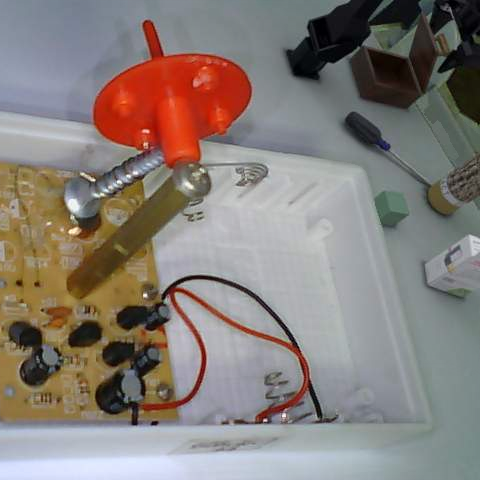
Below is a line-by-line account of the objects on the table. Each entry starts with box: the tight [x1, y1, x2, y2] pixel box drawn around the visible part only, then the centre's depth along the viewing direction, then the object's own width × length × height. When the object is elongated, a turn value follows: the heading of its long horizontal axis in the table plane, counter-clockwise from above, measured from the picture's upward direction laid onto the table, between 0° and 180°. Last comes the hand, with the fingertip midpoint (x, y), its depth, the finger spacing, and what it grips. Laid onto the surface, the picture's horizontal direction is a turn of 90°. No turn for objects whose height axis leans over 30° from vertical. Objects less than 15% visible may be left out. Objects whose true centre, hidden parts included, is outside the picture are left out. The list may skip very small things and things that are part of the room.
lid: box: [408, 11, 452, 95], centre depth 163 cm, size 13×11×5 cm
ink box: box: [424, 234, 480, 298], centre depth 142 cm, size 9×5×15 cm, turn 84°
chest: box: [349, 44, 423, 110], centre depth 168 cm, size 13×11×5 cm
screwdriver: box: [344, 110, 434, 188], centre depth 158 cm, size 26×4×4 cm, turn 65°
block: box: [373, 189, 410, 227], centre depth 148 cm, size 5×5×5 cm
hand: (432, 55), depth 163 cm, fingers open, 9 cm apart
